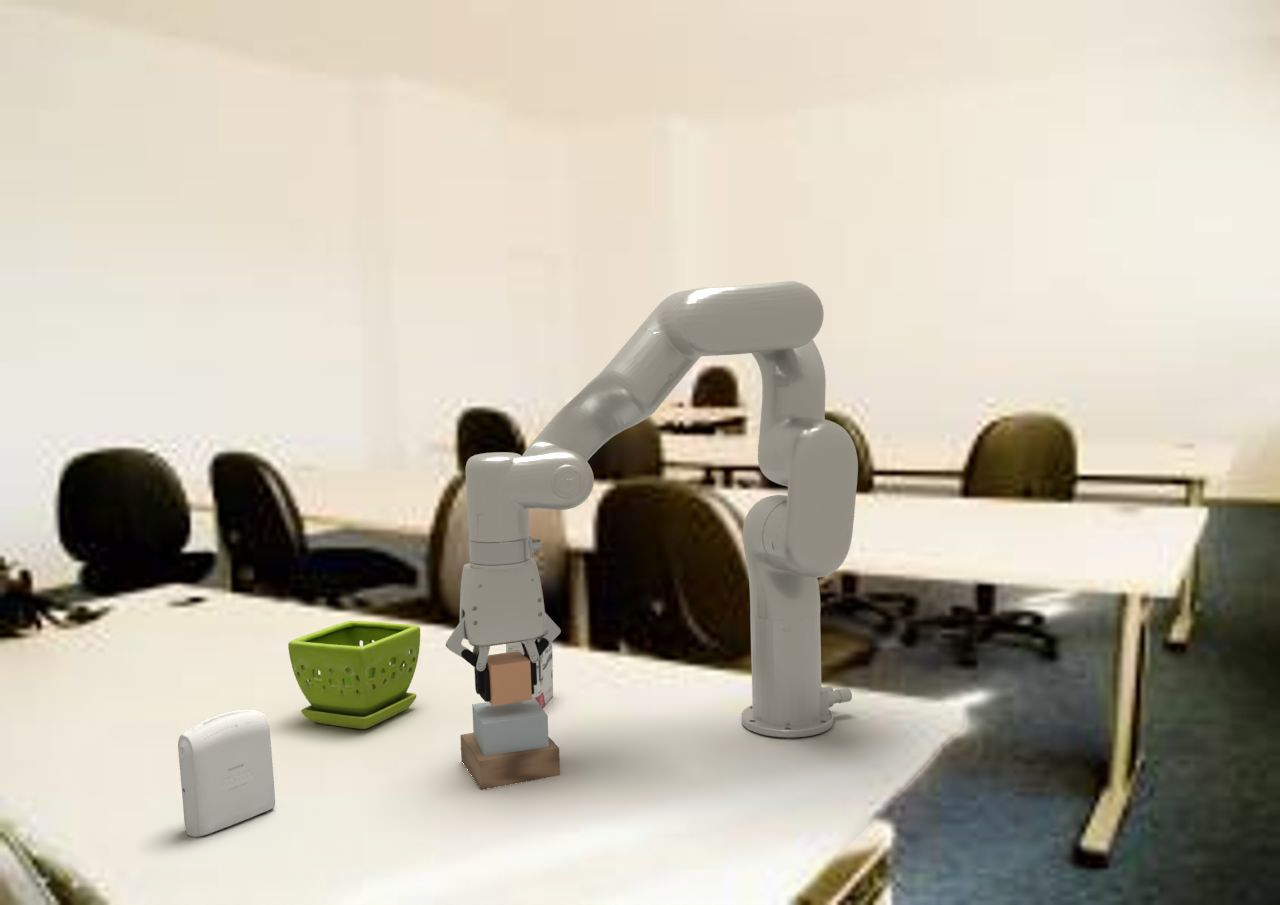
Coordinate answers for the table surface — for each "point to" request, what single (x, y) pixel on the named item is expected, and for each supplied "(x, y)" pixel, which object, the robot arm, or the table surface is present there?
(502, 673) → the terracotta cube
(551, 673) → the ink box
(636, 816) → the table surface
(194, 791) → the photo printer
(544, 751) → the walnut slab
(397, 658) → the flower pot
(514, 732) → the slate block
